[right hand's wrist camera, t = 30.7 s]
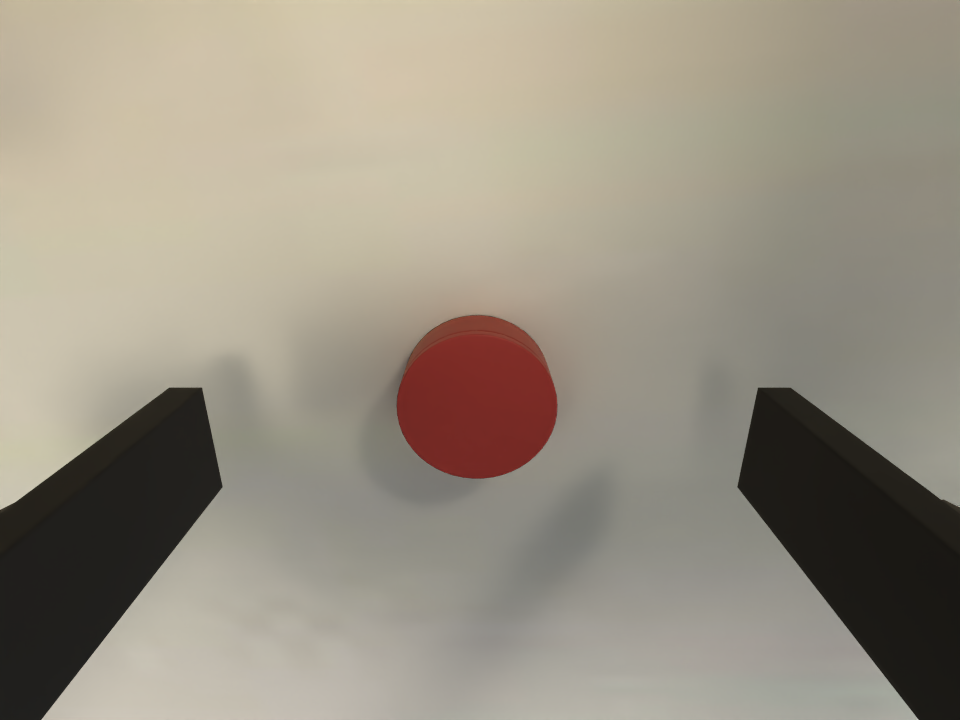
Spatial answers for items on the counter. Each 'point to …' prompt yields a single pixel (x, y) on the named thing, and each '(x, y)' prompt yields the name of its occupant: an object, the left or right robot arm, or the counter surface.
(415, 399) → the cap
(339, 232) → the counter surface
